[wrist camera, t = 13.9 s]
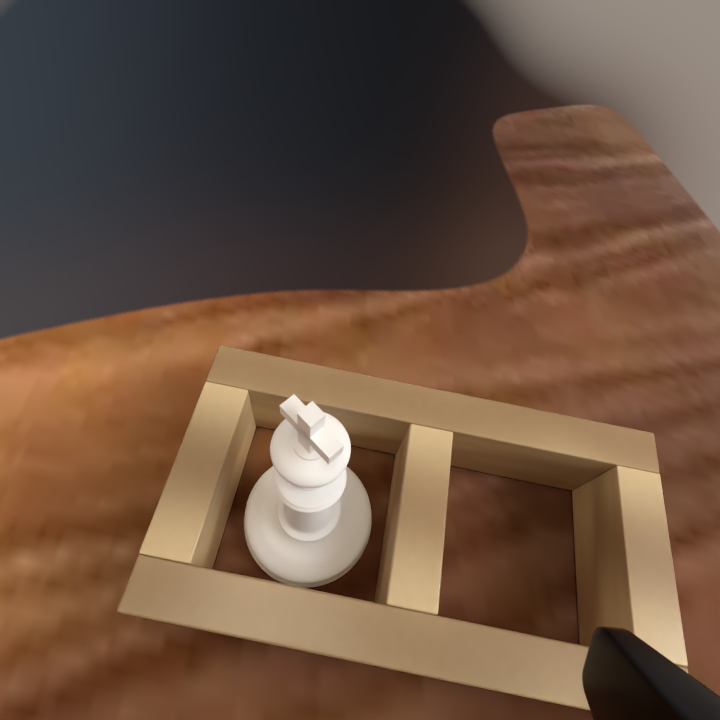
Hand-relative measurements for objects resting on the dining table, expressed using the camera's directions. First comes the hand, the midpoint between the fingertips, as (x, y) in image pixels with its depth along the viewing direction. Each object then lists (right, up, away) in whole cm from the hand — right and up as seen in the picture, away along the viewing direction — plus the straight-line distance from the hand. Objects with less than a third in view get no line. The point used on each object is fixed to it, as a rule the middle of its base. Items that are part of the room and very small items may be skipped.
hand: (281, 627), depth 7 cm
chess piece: (-1, -2, +12) cm, 13 cm away
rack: (+3, -3, +12) cm, 13 cm away
